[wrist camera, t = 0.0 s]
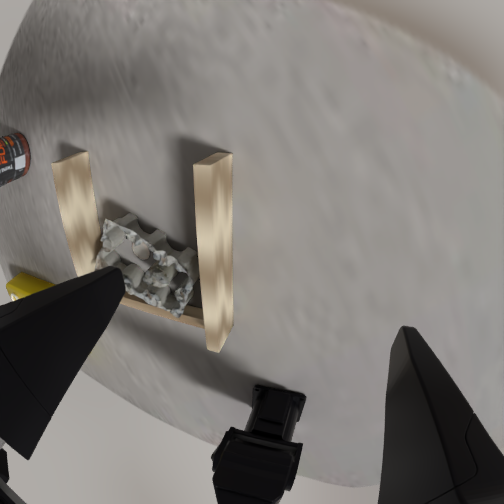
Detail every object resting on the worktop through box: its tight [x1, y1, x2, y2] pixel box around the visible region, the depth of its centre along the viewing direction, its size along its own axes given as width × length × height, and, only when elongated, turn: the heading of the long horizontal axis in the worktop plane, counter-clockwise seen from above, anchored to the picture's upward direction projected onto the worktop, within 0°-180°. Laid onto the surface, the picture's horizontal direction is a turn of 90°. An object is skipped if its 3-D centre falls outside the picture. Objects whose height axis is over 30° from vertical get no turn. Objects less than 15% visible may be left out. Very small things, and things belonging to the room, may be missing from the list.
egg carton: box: [95, 213, 200, 319], centre depth 28 cm, size 11×8×4 cm
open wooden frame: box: [51, 152, 233, 353], centre depth 26 cm, size 17×16×4 cm
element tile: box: [6, 272, 91, 353], centre depth 42 cm, size 15×15×5 cm
